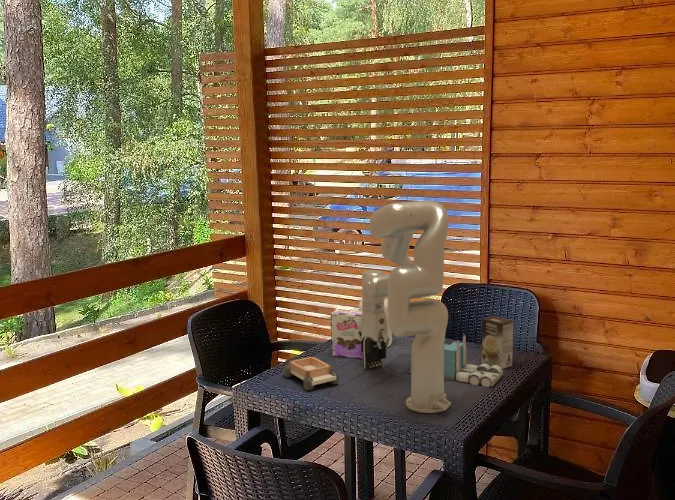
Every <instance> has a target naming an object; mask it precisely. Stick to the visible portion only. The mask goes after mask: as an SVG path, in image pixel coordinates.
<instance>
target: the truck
mask: <svg viewBox="0 0 675 500" xmlns="http://www.w3.org/2000/svg"><path fill="white" fill-rule="evenodd" d="M466 336H467V335H466V334H463V337H462V342H460V340H457V341H453V342H452V343H450V344H448V343H444V380H446V381H452V382H453V381H457V382H461V383H467V384H470V385H473V386H477V387H478V386H479V385H481V386H482V387H485V388H486V387H487V388H490V387H494V386H495V384H496V383H497V382H498V381H499V380H500V379H501V377H503V376H504V369H501V368H500V367H499V366H498V365H493V366H490V365H488V364H484V363H481V364H480V365H476V364H469V363H467V344H466V343H467V340H466V339H467V338H466ZM407 373H408V375H411V369H410V370H408V371H407Z"/></svg>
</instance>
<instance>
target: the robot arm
mask: <svg viewBox="0 0 675 500" xmlns="http://www.w3.org/2000/svg"><path fill="white" fill-rule="evenodd" d="M368 227H369V228H368V230H369V233H370V235H371V236H372V237H373V238H375V239H382V241H381V245H380V250H379V251H380V255H382V257H383V258H384V259H385V260H386V261H389V262H391V263H393V264H397V265H399V266H396V267H394V268H393V269H392V270H391V271H390V272H389V273H384V272H383V271H382V270H379V269H367V270H365V271H363V272H362V275H361V293H362V294H361V298H362V299H361V301H362V316H361V325H359V326H358V329H359V335H360V340H362V341H361V351H362V352H363V340H364V338H365V337H369V338H371V339H372V340H373V341H375V342H377V345H378V347H379V348H377V359H378V360H381V361H382V360H385V359H387V348H388V347H387V345H388V343H389V340H390V338H389V336H388V331H387V319H386V314H385V312H384V297H387V299H388V325H389V329H390V331H391V333H392V336H395V337H398V338H403V337H404V338H405V337H412V336H413V337H414V336H415V337H414V339H413V341H412V344H411V349H410V367H411V368H410V370H411V374H410V377H411V378H410V380H411V381H410V386H411V387H410V389H411V390H410V396H409V397H408V398H406V400H405V406H406V407H407V408H408V409H409V410H410V411H414V412H416V413H422V414H438V413H441V412H445V411H447V410H448V409H449V408H450V406H451V404H452V402H451V401H449V399H448V398H447V393H445V379H444V344H446V341H445V340H446V332H447V326H448V323H449V312H448V308H447V307H446V305H445V304H444V303H443V302H442V301H440V300H437V299H423V300H414V301H411V299H419V298H420V299H421V298H426V297H427V298H428V297H432V296H436V295H439V294H440V293H442V290H443V287H444V279H445V278H444V272H445V271H444V270H445V269H444V266H445V247H446V246H445V245H446V240H447V237H448V233H449V227H450V224H449V215H448V212H447V210H446V208H445V206H444V205H442V204H441V203H440V202H437V201H432V200H418V201H406V202H403V201H402V202H394V203H393V202H392V203H389V204H386V205H384V206H382V207H380V208H378V209H376V210H375V211H374V212H373V213H372V214H371V216H370V218H369V224H368ZM419 231H420V232H421V231H423V232H422V234H421V235H420V236H419V238H418V239H417V241H416V242H415V244H414V247H413V262H412V260H411V258H410V256H409V255H408V252H409V249H410V246H411V244H412V243H411V242H412V239H413V236H414V233H415V232H419ZM379 338H381V339H379ZM381 341H382V344H380V342H381Z"/></svg>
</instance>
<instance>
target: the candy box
mask: <svg viewBox="0 0 675 500" xmlns="http://www.w3.org/2000/svg"><path fill="white" fill-rule="evenodd" d="M361 316H362V312H360V311H359V310H358V311H357V310H347V309H338V308H335V309H334V310H332V311H331V312H330V348H331V349H330V353H331V356H332V357H341V358H347V359H348V358H349V359H357V360H358V359H359V360H364V358H363V352H362V351H361V341H362V340H360V335H359V329H358V326H359V325H361Z"/></svg>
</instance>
